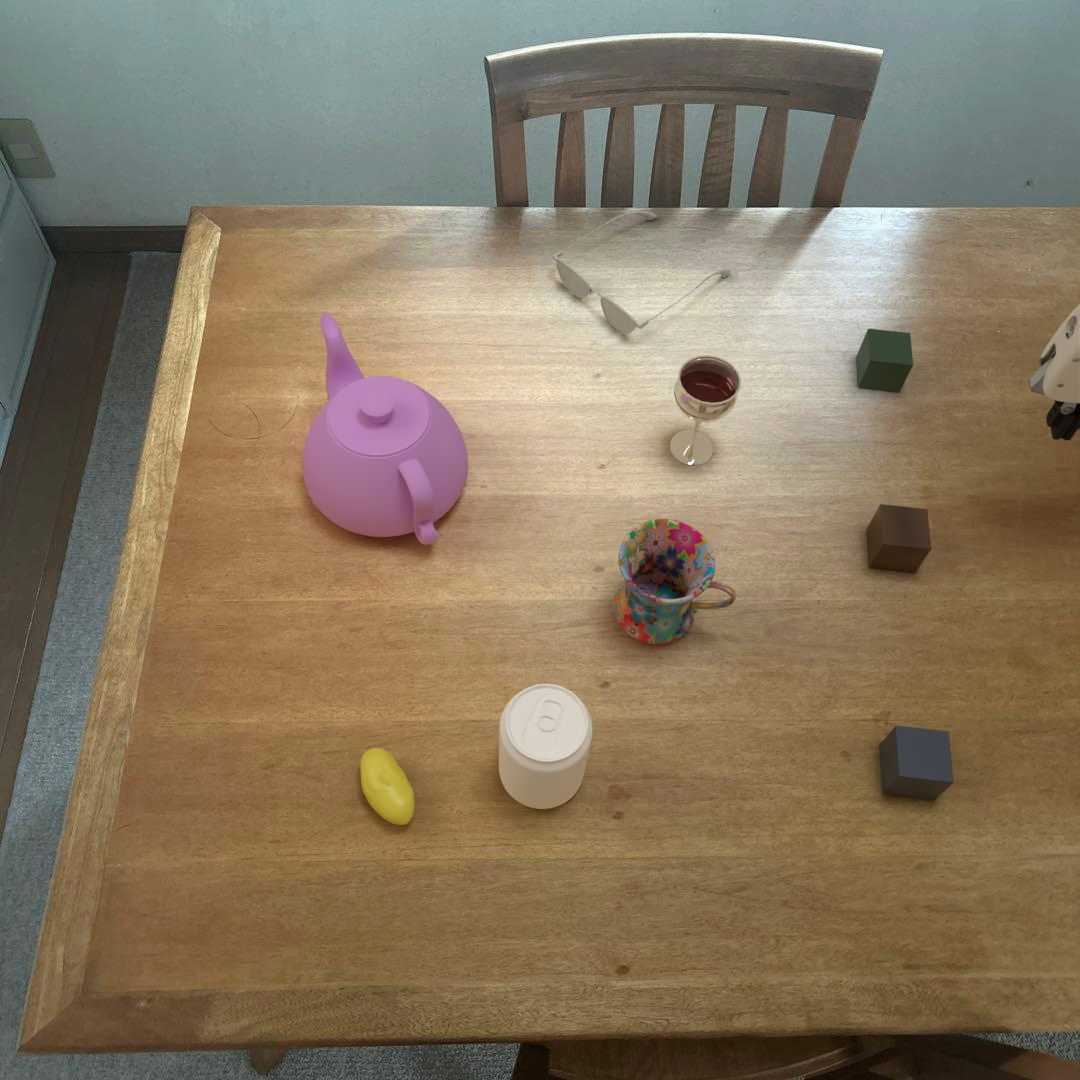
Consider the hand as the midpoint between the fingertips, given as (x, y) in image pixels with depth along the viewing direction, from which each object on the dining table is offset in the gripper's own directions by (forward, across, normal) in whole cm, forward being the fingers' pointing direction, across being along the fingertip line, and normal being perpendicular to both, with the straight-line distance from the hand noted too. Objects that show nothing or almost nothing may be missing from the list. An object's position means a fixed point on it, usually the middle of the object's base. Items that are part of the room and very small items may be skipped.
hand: (1058, 428), depth 110 cm
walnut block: (+13, -14, -8) cm, 21 cm away
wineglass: (+12, -36, +3) cm, 38 cm away
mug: (+12, -38, -18) cm, 44 cm away
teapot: (+11, -70, -4) cm, 71 cm away
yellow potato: (+11, -63, -40) cm, 76 cm away
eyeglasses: (+12, -42, +30) cm, 53 cm away
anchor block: (+13, -14, -33) cm, 38 cm away
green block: (+13, -13, +17) cm, 25 cm away
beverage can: (+12, -49, -36) cm, 62 cm away
